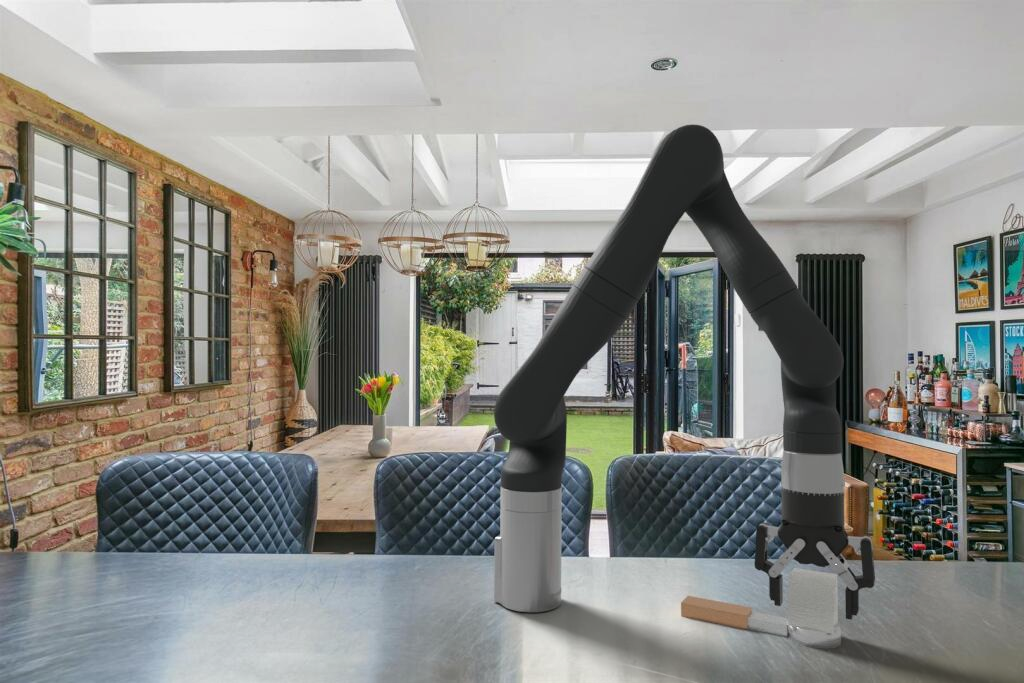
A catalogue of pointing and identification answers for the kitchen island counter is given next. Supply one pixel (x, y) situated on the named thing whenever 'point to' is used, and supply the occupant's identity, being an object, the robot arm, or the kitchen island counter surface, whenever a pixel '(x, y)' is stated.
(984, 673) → the kitchen island counter surface
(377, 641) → the kitchen island counter surface
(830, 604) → the light grey block
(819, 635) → the ratchet
